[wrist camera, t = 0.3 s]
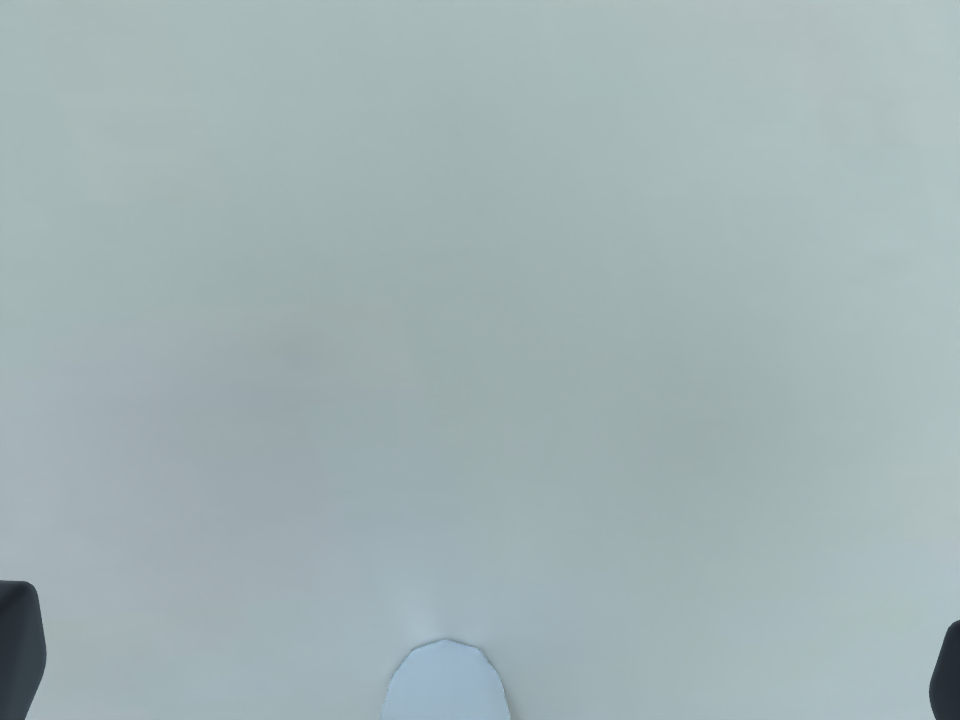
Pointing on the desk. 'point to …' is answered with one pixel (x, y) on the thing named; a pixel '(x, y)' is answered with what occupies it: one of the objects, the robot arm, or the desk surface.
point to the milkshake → (445, 686)
